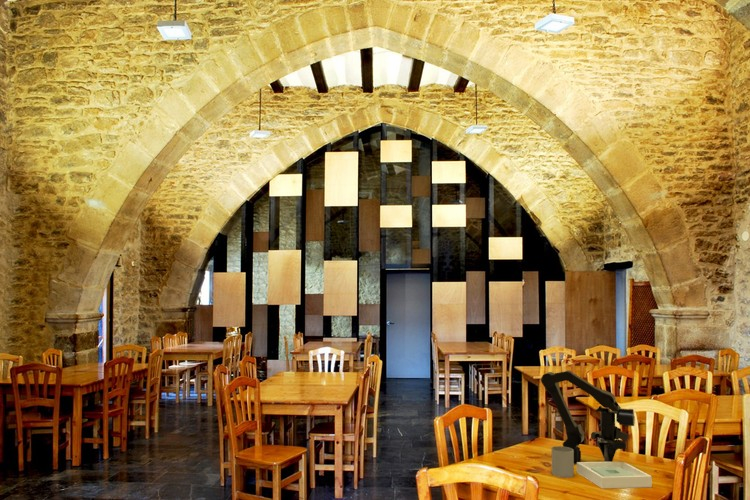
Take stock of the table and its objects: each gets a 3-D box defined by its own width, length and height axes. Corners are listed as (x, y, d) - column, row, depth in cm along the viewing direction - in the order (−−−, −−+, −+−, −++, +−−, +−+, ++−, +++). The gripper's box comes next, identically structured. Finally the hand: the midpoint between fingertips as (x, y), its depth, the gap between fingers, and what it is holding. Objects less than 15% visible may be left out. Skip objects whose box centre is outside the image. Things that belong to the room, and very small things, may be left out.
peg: (606, 468, 248) (606, 446, 249) (602, 466, 251) (602, 444, 252) (614, 468, 248) (613, 446, 249) (610, 466, 251) (609, 444, 252)
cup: (573, 472, 241) (573, 447, 242) (573, 478, 233) (573, 452, 234) (552, 470, 244) (552, 445, 245) (551, 476, 236) (551, 450, 237)
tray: (601, 488, 222) (601, 477, 222) (576, 472, 242) (576, 462, 242) (651, 487, 224) (651, 476, 225) (622, 471, 244) (622, 461, 244)
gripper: (638, 428, 243) (638, 467, 242) (614, 418, 261) (614, 454, 260) (612, 428, 241) (613, 467, 240) (590, 418, 260) (590, 455, 259)
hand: (608, 461), depth 250 cm, fingers closed on peg, 3 cm apart
